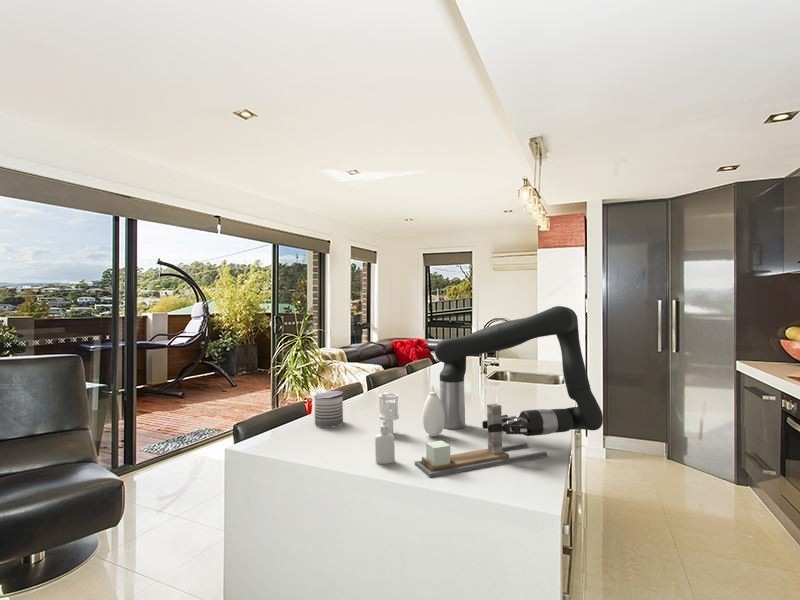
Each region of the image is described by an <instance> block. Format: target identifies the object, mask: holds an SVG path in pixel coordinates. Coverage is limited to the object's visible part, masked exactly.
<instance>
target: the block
mask: <svg viewBox="0 0 800 600" xmlns="http://www.w3.org/2000/svg"><path fill="white" fill-rule="evenodd" d="M425 445H426V446H425V448H426V449H425V453H426V457H425V458H426V459H427V460H429V461H430V462H431V463H433V464H434V465H435V466H440V465H446V464H450V455H451V445H450V444H448V443H446V442H445V441H444V440H436V441H432V442H426V443H425Z"/></svg>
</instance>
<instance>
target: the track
mask: <svg viewBox="0 0 800 600" xmlns="http://www.w3.org/2000/svg"><path fill="white" fill-rule="evenodd" d="M528 446H529V445H528V443H527V442H522V443H516V444H511V445H510V444H508V445H504V446H503V445H502V451H503V452H505V450H506V451H510V450H511V449H512V450H516V449H522V448H527V447H528ZM547 456H548V452H547V451H539V452H533V453H529V454H522V455H516V456H512V457H509V458H505V459H500V460H494V461H489V462H483V463H478V464H472V465H467V466H461V467H456V468H450V469H445V470H440V471H434V472H431V471H430V470H429V469H427V468H426V467H425V466H424V465H422V459H421V460H417V461H414V466H415V467H417V468H418V469H419V470H420V471H422V473H424V474H425V475H426V476H427V477H428V478H437V477H441V476H447V475H451V474H455V473H456V474H457V473H461V472H466V471H467V472H468V471H473V470H477V469H483V468H489V467H493V466H499V465H504V464H509V463H510V464H511V463H514V462H520V461H526V460H531V459H537V458H541V457H547Z"/></svg>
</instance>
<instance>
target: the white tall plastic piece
mask: <svg viewBox="0 0 800 600" xmlns="http://www.w3.org/2000/svg"><path fill="white" fill-rule="evenodd" d="M378 399H379V415H378V416H379V417H378V418H379V420H381V421H386V425H388V426H389V433H390V434H393V435H394V432H395V431H394V421H397V420H399V419H400V416H399V415H400V414H399V401H398V400H399V394H398V393H395V392H387V391H385V392H384V393H380V394H378Z"/></svg>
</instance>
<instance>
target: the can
mask: <svg viewBox="0 0 800 600" xmlns="http://www.w3.org/2000/svg"><path fill="white" fill-rule="evenodd" d="M343 394H344V391H341V390H331V391H324V392H319V393H316V394H315V395H313V398H314V399H313V403H314V409H313V410H314V425H316V426H315V427H318V426H321V427H320V428H333V427H332V426H335V427H338V425H339V426H340V424H341V425H342V423H343V424H344V408H343V407H344V406H343V399H344V397H343Z"/></svg>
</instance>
